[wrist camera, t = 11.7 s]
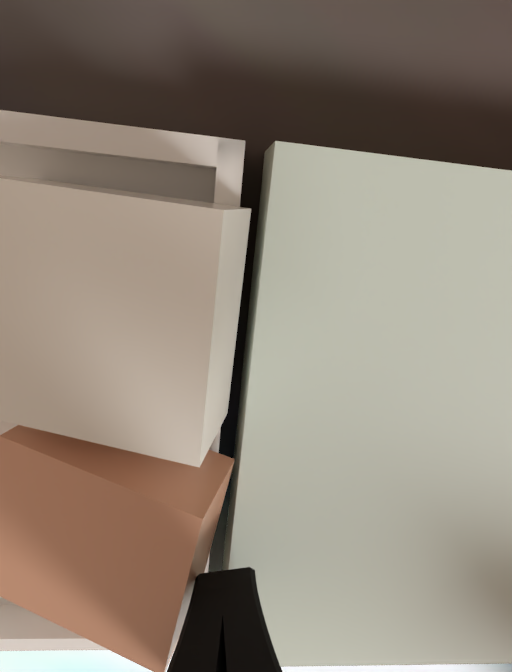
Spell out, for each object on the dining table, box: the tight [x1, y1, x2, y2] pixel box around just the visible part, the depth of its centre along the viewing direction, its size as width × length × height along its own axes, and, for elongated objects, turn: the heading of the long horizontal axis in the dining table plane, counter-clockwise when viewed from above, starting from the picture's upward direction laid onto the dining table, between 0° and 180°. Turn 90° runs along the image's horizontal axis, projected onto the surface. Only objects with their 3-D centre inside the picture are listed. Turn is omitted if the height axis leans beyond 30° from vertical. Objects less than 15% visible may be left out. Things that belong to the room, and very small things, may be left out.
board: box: [222, 141, 512, 667], centre depth 11 cm, size 14×14×2 cm
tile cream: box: [0, 175, 251, 468], centre depth 8 cm, size 4×4×2 cm
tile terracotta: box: [0, 425, 235, 672], centre depth 9 cm, size 4×4×2 cm
